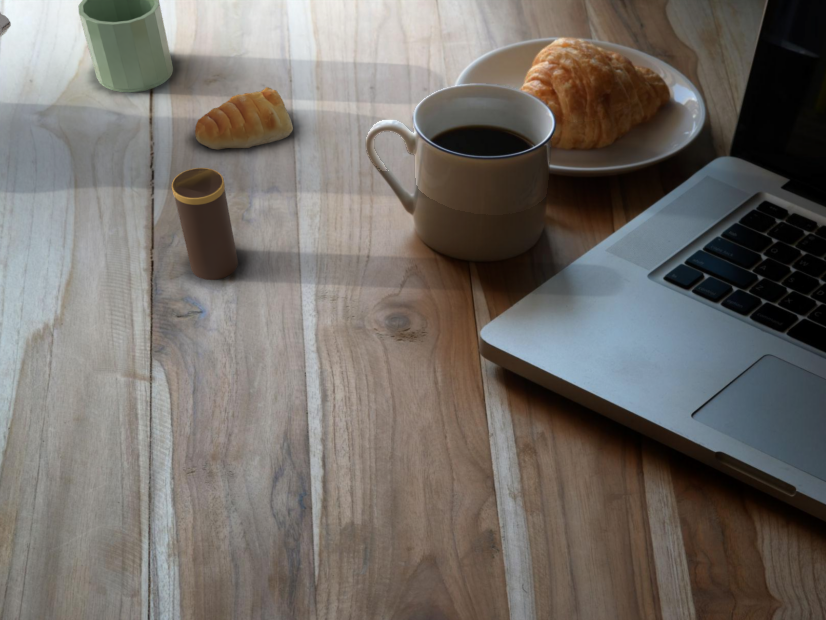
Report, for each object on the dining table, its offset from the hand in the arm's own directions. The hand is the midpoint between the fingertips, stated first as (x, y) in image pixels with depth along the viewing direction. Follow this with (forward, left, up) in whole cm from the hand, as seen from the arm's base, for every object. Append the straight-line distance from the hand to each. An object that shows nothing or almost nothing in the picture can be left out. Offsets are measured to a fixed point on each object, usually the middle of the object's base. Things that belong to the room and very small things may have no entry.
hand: (42, 4), depth 70 cm
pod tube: (+11, -5, -21) cm, 24 cm away
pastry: (+9, +15, -21) cm, 27 cm away
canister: (-6, +24, -21) cm, 32 cm away
